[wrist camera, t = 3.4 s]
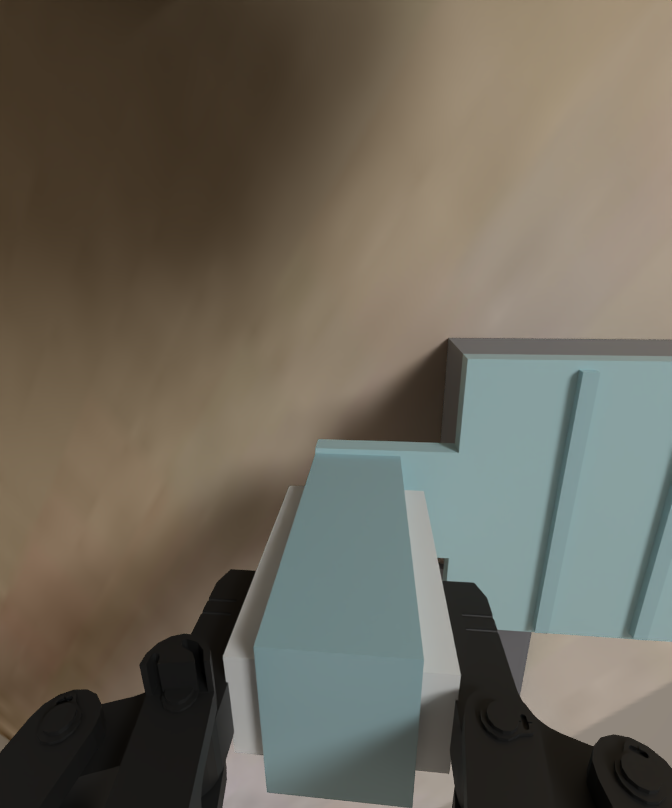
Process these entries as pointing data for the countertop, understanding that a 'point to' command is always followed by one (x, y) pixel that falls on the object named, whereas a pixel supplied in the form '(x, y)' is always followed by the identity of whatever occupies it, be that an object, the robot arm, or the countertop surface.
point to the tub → (530, 348)
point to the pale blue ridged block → (463, 555)
